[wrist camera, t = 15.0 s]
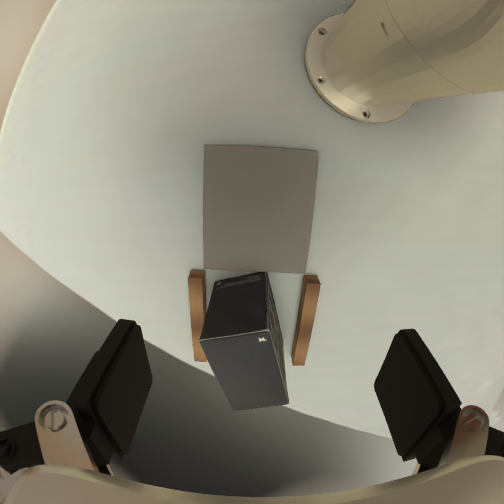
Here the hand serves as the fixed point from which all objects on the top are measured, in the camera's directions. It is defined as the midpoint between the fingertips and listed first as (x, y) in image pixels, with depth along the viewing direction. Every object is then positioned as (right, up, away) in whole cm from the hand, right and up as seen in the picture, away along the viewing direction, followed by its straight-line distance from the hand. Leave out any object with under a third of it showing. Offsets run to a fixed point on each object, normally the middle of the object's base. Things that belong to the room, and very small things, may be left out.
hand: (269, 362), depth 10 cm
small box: (-1, -3, +24) cm, 24 cm away
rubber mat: (0, +8, +19) cm, 21 cm away
